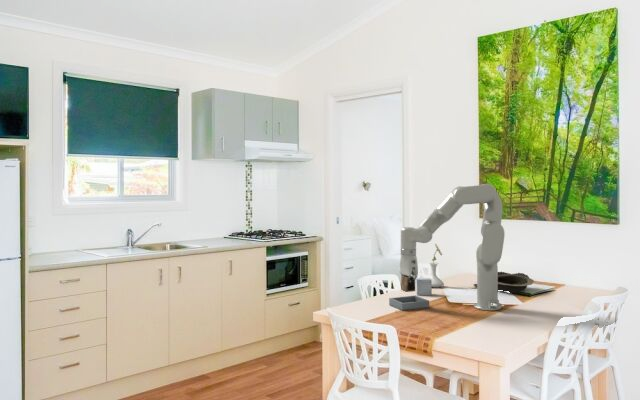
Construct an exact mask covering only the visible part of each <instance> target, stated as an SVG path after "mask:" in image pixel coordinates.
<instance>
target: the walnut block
mask: <svg viewBox="0 0 640 400" xmlns="http://www.w3.org/2000/svg"><path fill="white" fill-rule="evenodd" d="M411 278H412V277H411ZM408 282H409V278H408V276H401V278H400V285H401V287H400V290H401V291H402V292H406V293H410V292H416V281H415V282H414V290H408Z"/></svg>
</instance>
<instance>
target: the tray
mask: <svg viewBox="0 0 640 400" xmlns="http://www.w3.org/2000/svg"><path fill="white" fill-rule="evenodd" d="M388 299H389V302H388V303H389V305H388V306H390V307H393V308H395V309H397V310H400V311H401V310H402V311H401V312H405V311H404V310H406V311H413V310H414V309H415V310H421V309H430V300H429V299H425V298H423V297H421V296H419V295H417V294H416V295H407V296H396V297H389V298H388Z"/></svg>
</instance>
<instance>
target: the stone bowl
mask: <svg viewBox="0 0 640 400" xmlns="http://www.w3.org/2000/svg"><path fill="white" fill-rule="evenodd" d="M533 283H535V281H534V279H532V278H530V277H529V275H528V274H525V273H523V272H518V273H517V272H516V273H509V272H505V271H498V290H503V291H509V292H510V294H520V293H521V292H525V291H526V289H527V287H528V286H532V285H533Z"/></svg>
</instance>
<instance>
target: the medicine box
mask: <svg viewBox="0 0 640 400" xmlns="http://www.w3.org/2000/svg"><path fill="white" fill-rule="evenodd" d="M415 290H416V296H432V295H433V293H432V290H433V287H432V280H431V278H430V277H428V278H427V277H424V278H423V277H422V278H421V277H420V278H419V277H417V278H416V280H415Z"/></svg>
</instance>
